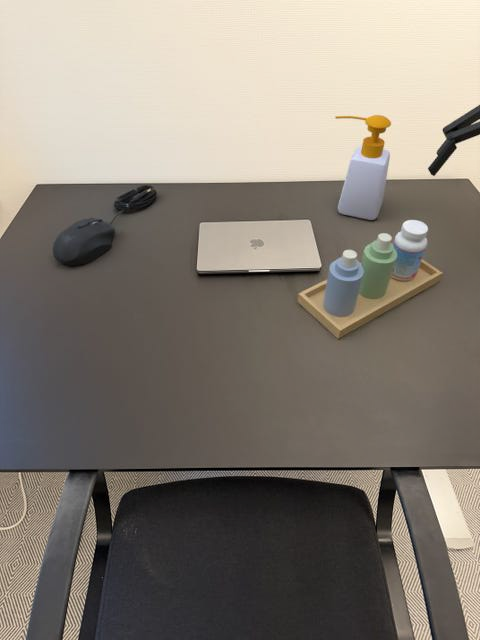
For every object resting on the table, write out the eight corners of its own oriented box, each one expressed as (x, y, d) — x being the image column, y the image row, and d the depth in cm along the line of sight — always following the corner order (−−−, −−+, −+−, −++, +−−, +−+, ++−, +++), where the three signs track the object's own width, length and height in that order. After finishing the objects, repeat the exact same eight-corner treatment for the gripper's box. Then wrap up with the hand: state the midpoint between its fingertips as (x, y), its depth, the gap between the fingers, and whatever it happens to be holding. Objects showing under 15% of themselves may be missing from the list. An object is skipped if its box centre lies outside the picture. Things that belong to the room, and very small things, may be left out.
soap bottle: (327, 191, 118) (341, 101, 102) (382, 202, 115) (406, 110, 99) (317, 211, 112) (330, 118, 96) (375, 223, 109) (399, 129, 93)
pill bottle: (417, 283, 94) (434, 237, 85) (386, 280, 94) (400, 235, 86) (414, 264, 98) (430, 218, 90) (384, 261, 98) (397, 216, 90)
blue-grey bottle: (358, 300, 90) (372, 249, 81) (348, 321, 87) (361, 269, 77) (329, 291, 92) (339, 239, 83) (318, 310, 88) (327, 258, 79)
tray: (396, 251, 102) (398, 243, 100) (439, 281, 95) (442, 272, 94) (297, 301, 91) (298, 293, 89) (338, 339, 85) (340, 330, 83)
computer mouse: (46, 262, 99) (38, 241, 95) (134, 188, 119) (130, 168, 115) (82, 275, 96) (75, 254, 92) (166, 197, 116) (163, 177, 112)
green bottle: (389, 284, 93) (405, 232, 84) (381, 302, 90) (397, 251, 81) (360, 274, 95) (373, 223, 86) (351, 292, 92) (363, 241, 83)
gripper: (613, 123, 79) (521, 227, 84) (485, 77, 93) (414, 168, 98) (615, 98, 73) (517, 211, 78) (479, 53, 87) (403, 151, 92)
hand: (459, 187), depth 88 cm, fingers open, 13 cm apart
